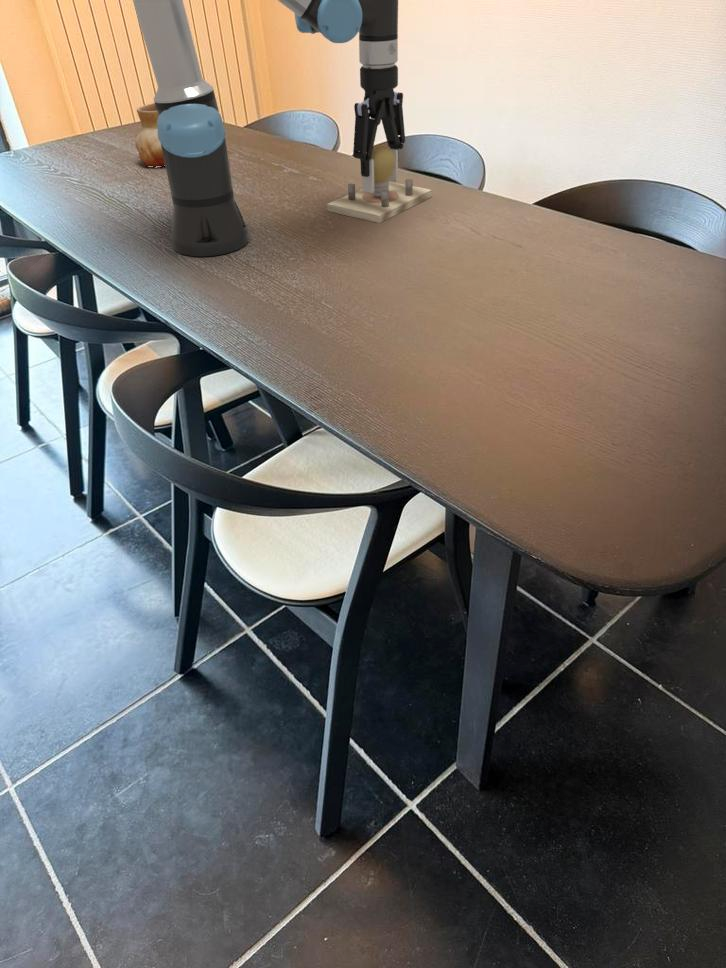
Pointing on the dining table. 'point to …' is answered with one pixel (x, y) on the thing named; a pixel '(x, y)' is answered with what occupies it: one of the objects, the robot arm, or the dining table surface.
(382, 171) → the light bulb
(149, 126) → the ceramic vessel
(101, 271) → the dining table surface
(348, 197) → the pin nest
